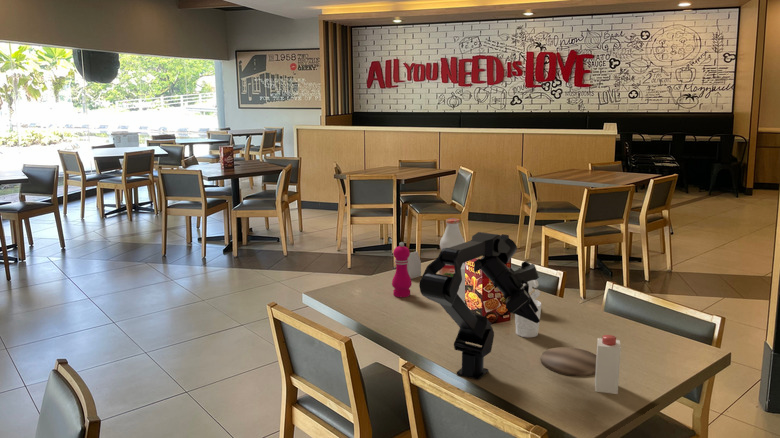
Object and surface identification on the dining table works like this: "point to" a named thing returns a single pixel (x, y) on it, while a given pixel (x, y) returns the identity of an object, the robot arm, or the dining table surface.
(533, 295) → the character figurine
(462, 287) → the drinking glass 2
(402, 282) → the pepper mill
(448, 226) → the fruit juice
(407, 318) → the dining table surface
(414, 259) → the tea bag
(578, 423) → the dining table surface
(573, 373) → the walnut serving board
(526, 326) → the white cup
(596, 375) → the square squeeze bottle
